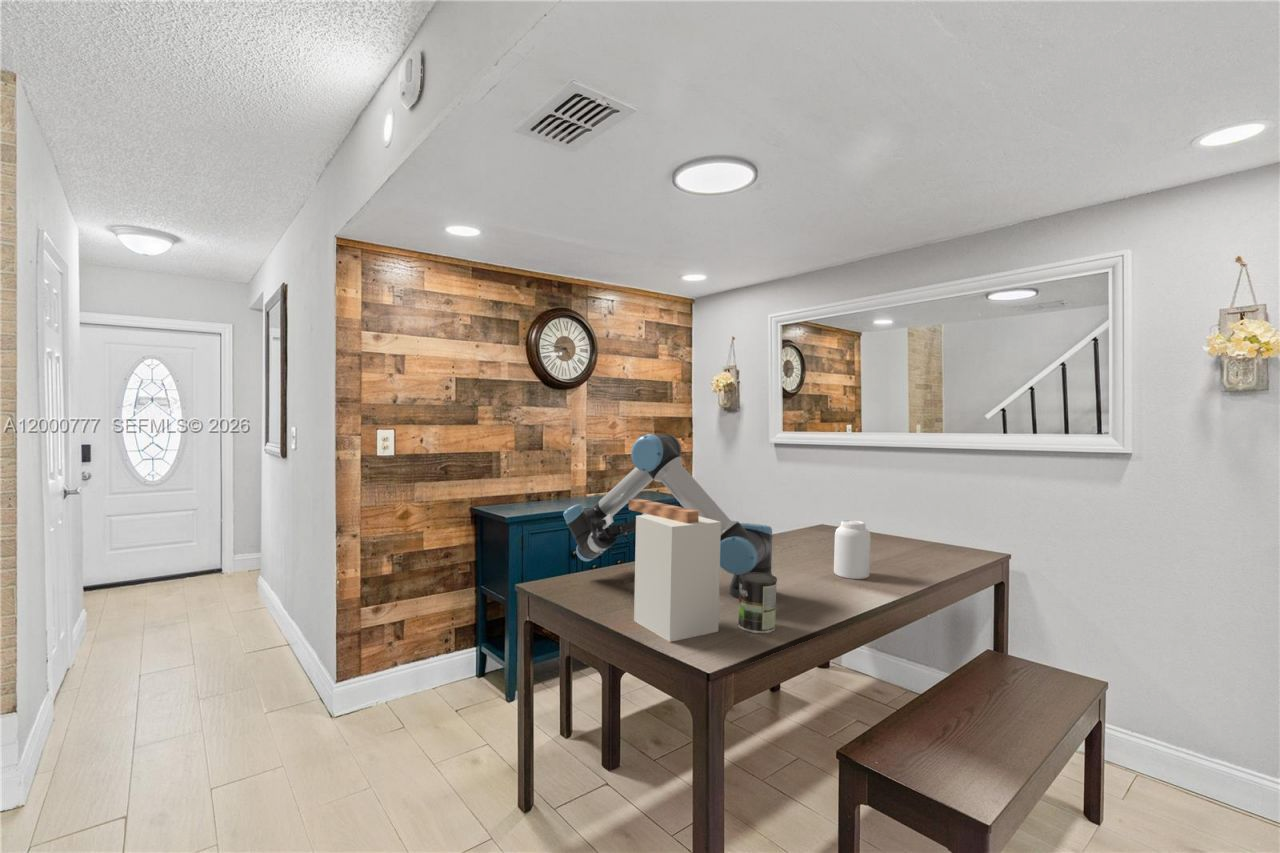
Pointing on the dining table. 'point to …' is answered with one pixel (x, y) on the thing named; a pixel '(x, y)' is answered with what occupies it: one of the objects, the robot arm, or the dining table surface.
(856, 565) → the white jar
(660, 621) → the pedestal
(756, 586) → the coffee can
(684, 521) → the bar
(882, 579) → the dining table surface
